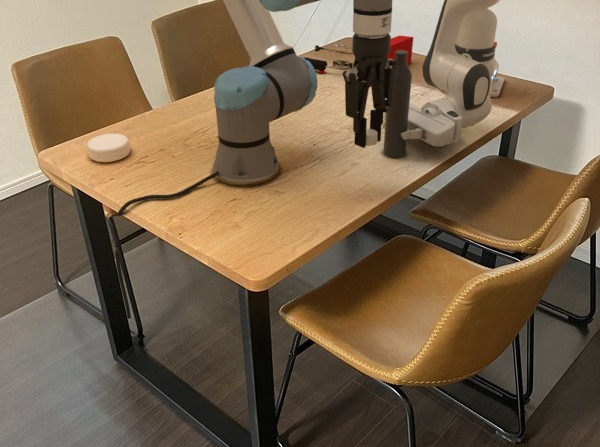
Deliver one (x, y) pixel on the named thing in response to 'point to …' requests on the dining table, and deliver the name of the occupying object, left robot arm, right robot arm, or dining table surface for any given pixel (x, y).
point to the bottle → (398, 108)
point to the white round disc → (108, 147)
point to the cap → (371, 137)
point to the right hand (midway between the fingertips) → (393, 130)
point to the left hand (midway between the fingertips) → (367, 142)
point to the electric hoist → (321, 65)
